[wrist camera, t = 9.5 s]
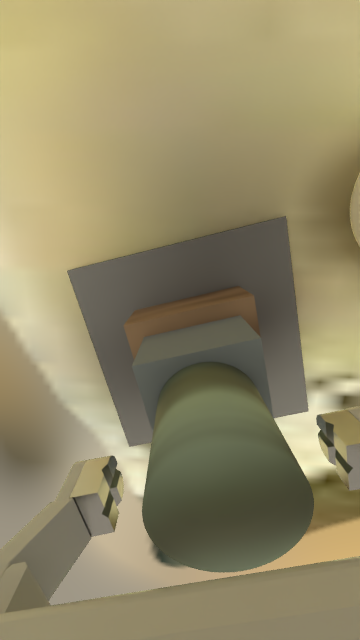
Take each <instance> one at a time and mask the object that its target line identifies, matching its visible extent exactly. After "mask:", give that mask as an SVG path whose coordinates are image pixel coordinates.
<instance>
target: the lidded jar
mask: <svg viewBox="0 0 360 640" xmlns="http://www.w3.org/2000/svg"><path fill="white" fill-rule="evenodd" d="M350 222H351V228H352V231H353V234H354V237H355V239H356V241H357V243H358V245H359V247H360V173H359V175H358V178H357V180H356V182H355V185H354V189H353V193H352V196H351V203H350Z"/></svg>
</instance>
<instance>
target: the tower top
mask: <svg viewBox="0 0 360 640" xmlns="http://www.w3.org/2000/svg"><path fill="white" fill-rule="evenodd" d="M201 362H220V363H225V364H228V365H231V366H233V367H235V368H237V369H239V370H241V371H242V372H244V373H245V374H246V375H247V376H248V377H249V378H250V379H251V380H252V381H253V383H254V385H255V386H256V388H257V390H258V392H259V393H260V395H261V397H262V399H263V401H264V402H265V404H266V406H267V408H268V410H269V411H270V413H271V415H272V417H273V419H274V416H273V410H272V403H271V397H270V391H269V385H268V378H267V372H266V366H265V360H264V353H263V347H262V341H261V337H260V336H259V335H258V334H257V333H256V332H255V331H254V330H253V329H252V327H251V326H250V325H249V324H248V323H247V322H246V321H245V320H244V319H243V318H242V317H241V316H240V315H239V316H235V317H230V318H226V319H221V320H217V321H213V322H208V323H204V324H199V325H195V326H191V327H186V328H182V329H177V330H173V331H169V332H164V333H160V334H155V335H151V336H147V337H144V338H143V341H142V343H141V345H140V348H139V350H138V353H137V355H136V357H135V360H134V362H133V364H132V369H133V372H134V375H135V378H136V381H137V384H138V387H139V391H140V394H141V397H142V400H143V403H144V406H145V409H146V413H147V416H148V419H149V422H150V425H151V428H152V431H153V430H154V423H155V417H156V410H157V403H158V398H159V395H160V392H161V390H162V388H163V386H164V385H165V383H166V382H167V381H168V380H169V379H170V378H171V377H172V376H173V375H174V374H175V373H177V372H178V371H179V370H181V369H183V368H185V367H187V366H190V365H192V364H196V363H201Z"/></svg>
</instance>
